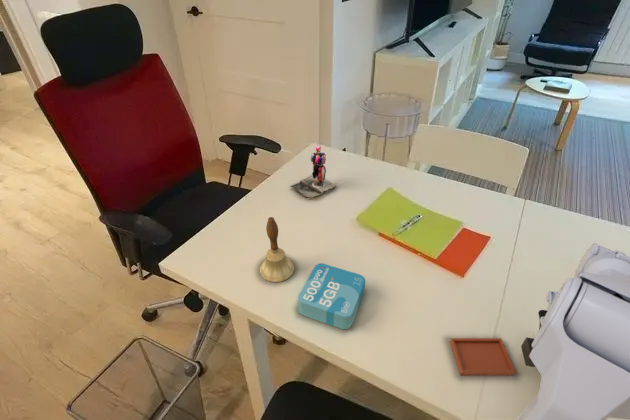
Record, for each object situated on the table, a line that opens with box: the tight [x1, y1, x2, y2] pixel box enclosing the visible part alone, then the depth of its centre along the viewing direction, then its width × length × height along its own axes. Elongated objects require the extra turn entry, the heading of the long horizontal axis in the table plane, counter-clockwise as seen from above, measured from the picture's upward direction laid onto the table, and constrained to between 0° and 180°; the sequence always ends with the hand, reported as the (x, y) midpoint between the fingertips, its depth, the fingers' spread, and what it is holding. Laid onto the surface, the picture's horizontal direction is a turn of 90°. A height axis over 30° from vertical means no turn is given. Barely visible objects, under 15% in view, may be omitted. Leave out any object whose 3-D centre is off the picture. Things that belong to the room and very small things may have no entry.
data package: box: [297, 262, 366, 330], centre depth 81 cm, size 12×4×12 cm
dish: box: [449, 337, 517, 376], centre depth 72 cm, size 10×7×1 cm
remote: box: [520, 337, 536, 368], centre depth 68 cm, size 7×4×3 cm, turn 78°
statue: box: [290, 145, 337, 199], centre depth 112 cm, size 11×9×15 cm
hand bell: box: [259, 216, 295, 283], centre depth 85 cm, size 8×8×16 cm
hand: (546, 355), depth 68 cm, fingers closed on remote, 4 cm apart
